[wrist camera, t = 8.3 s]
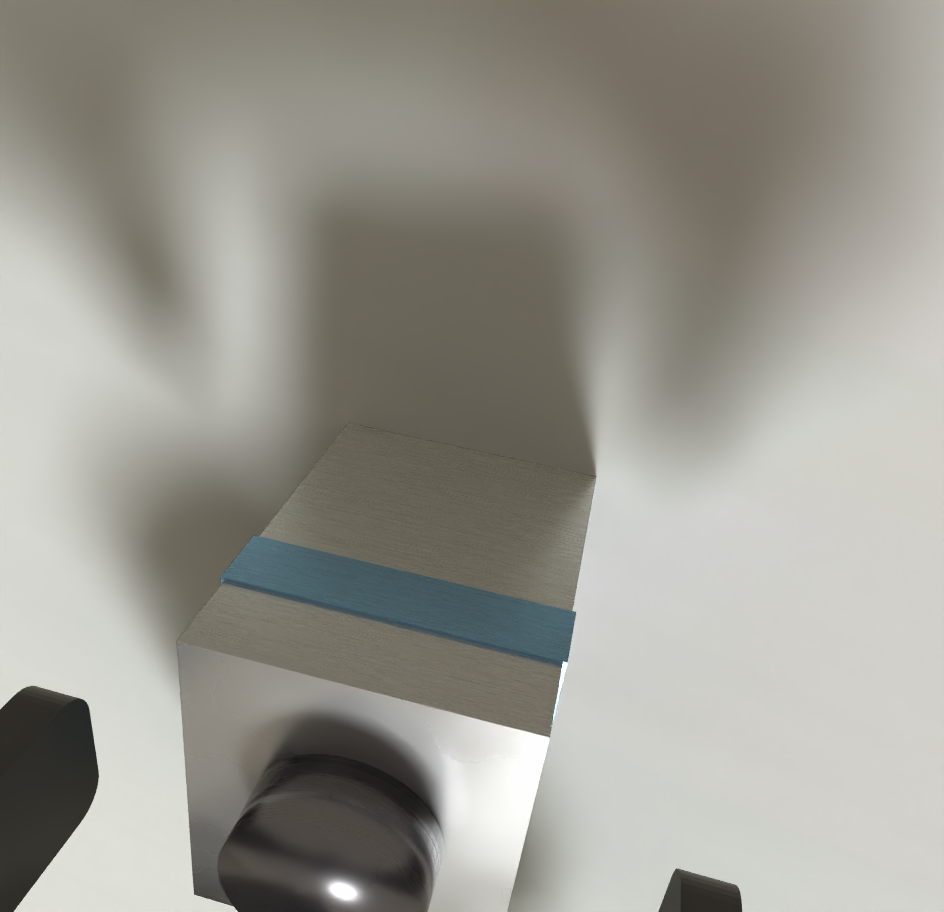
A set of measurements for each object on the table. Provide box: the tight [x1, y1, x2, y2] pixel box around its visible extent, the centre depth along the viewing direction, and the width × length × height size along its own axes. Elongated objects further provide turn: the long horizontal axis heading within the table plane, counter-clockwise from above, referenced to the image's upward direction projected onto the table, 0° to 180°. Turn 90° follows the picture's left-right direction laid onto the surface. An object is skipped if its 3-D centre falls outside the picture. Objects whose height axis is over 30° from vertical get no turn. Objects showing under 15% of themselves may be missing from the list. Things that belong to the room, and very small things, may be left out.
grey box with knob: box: [177, 423, 596, 912], centre depth 13 cm, size 5×5×7 cm
